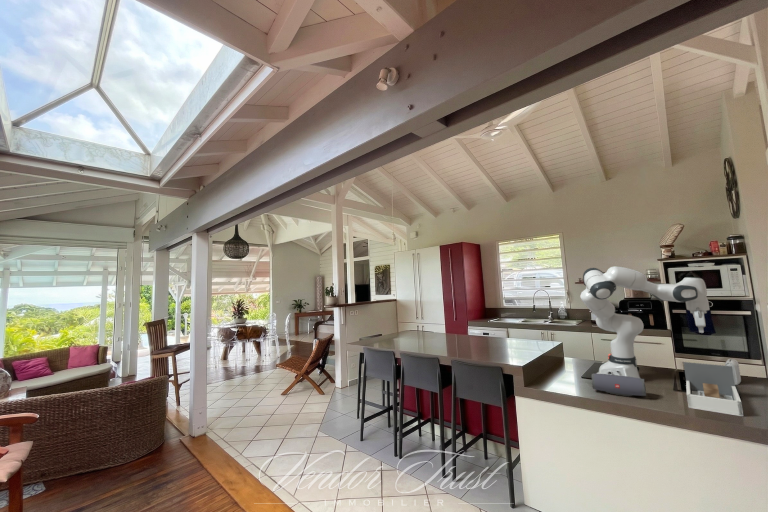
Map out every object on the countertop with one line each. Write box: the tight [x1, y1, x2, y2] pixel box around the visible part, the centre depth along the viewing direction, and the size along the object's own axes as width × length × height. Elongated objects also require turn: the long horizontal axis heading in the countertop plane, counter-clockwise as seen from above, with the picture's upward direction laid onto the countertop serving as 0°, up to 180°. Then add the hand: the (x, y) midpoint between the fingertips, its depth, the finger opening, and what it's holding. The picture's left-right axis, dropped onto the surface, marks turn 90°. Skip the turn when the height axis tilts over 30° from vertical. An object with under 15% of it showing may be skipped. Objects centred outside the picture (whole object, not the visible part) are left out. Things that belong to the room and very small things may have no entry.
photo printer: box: [724, 358, 742, 386], centre depth 170 cm, size 10×4×12 cm, turn 123°
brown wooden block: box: [703, 383, 720, 398], centre depth 151 cm, size 5×7×6 cm
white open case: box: [682, 361, 736, 400], centre depth 151 cm, size 17×23×15 cm
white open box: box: [685, 380, 745, 417], centre depth 149 cm, size 17×22×6 cm
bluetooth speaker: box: [591, 373, 647, 397], centre depth 168 cm, size 23×9×10 cm, turn 50°
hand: (701, 332), depth 168 cm, fingers closed
